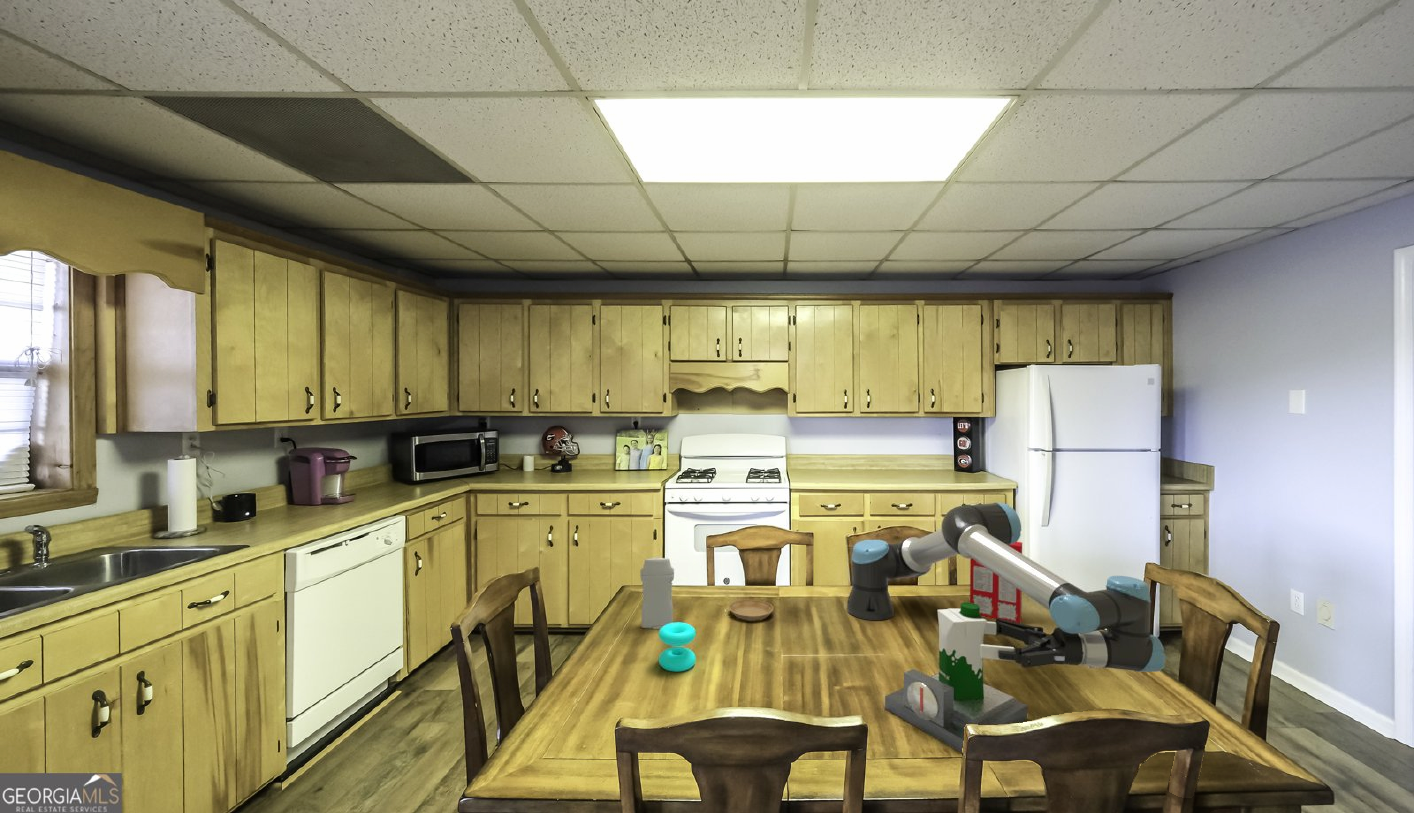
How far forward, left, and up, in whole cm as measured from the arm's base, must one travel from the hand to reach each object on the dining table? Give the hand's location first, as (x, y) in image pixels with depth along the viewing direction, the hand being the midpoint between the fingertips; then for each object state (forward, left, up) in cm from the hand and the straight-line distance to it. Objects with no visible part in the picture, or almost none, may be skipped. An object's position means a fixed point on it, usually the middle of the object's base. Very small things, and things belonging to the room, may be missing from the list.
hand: (973, 637), depth 128 cm
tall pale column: (-82, -38, -18) cm, 92 cm away
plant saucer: (-74, -7, -18) cm, 77 cm away
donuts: (-57, -45, -18) cm, 75 cm away
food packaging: (-29, +60, -18) cm, 69 cm away
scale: (-2, -3, -18) cm, 18 cm away
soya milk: (-2, -1, -13) cm, 14 cm away
